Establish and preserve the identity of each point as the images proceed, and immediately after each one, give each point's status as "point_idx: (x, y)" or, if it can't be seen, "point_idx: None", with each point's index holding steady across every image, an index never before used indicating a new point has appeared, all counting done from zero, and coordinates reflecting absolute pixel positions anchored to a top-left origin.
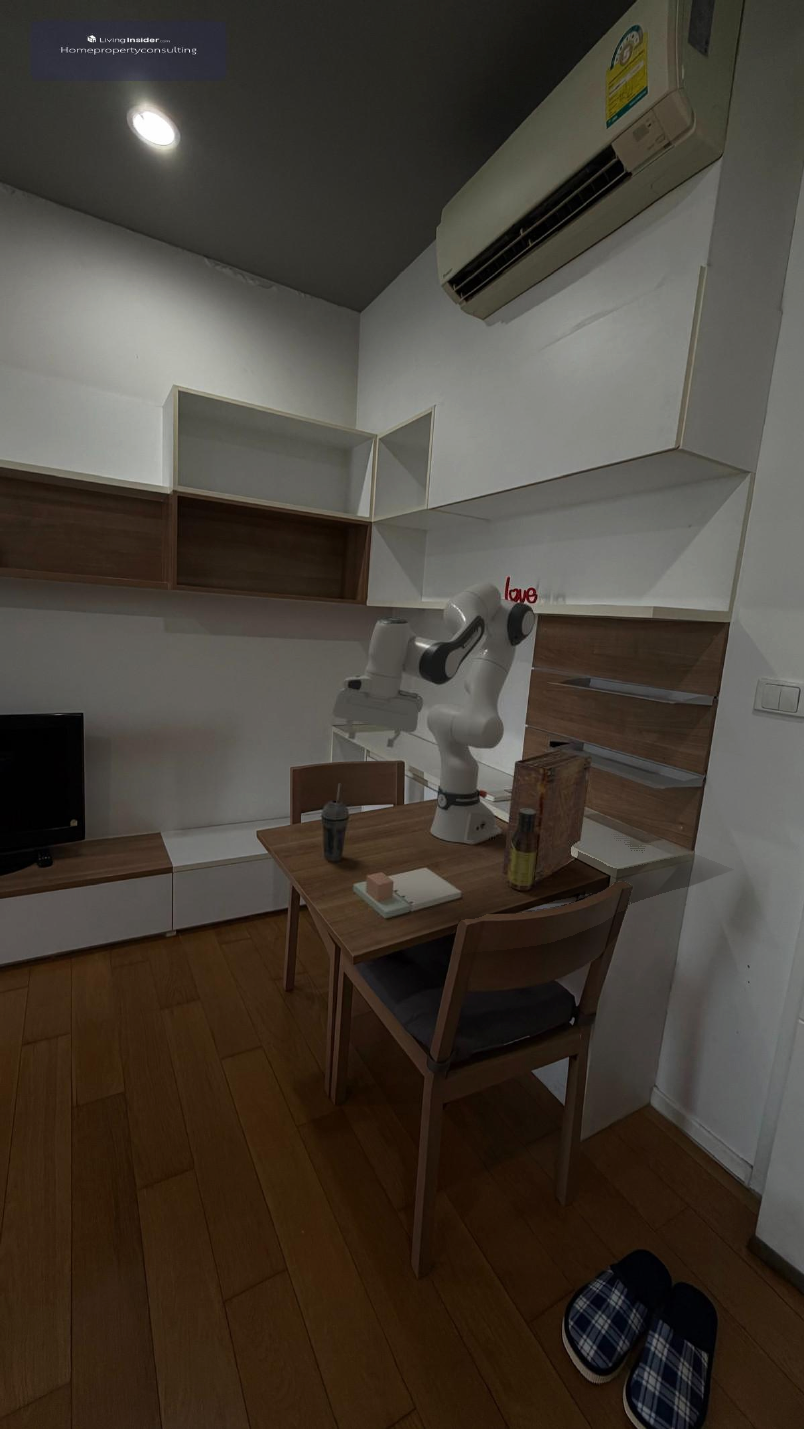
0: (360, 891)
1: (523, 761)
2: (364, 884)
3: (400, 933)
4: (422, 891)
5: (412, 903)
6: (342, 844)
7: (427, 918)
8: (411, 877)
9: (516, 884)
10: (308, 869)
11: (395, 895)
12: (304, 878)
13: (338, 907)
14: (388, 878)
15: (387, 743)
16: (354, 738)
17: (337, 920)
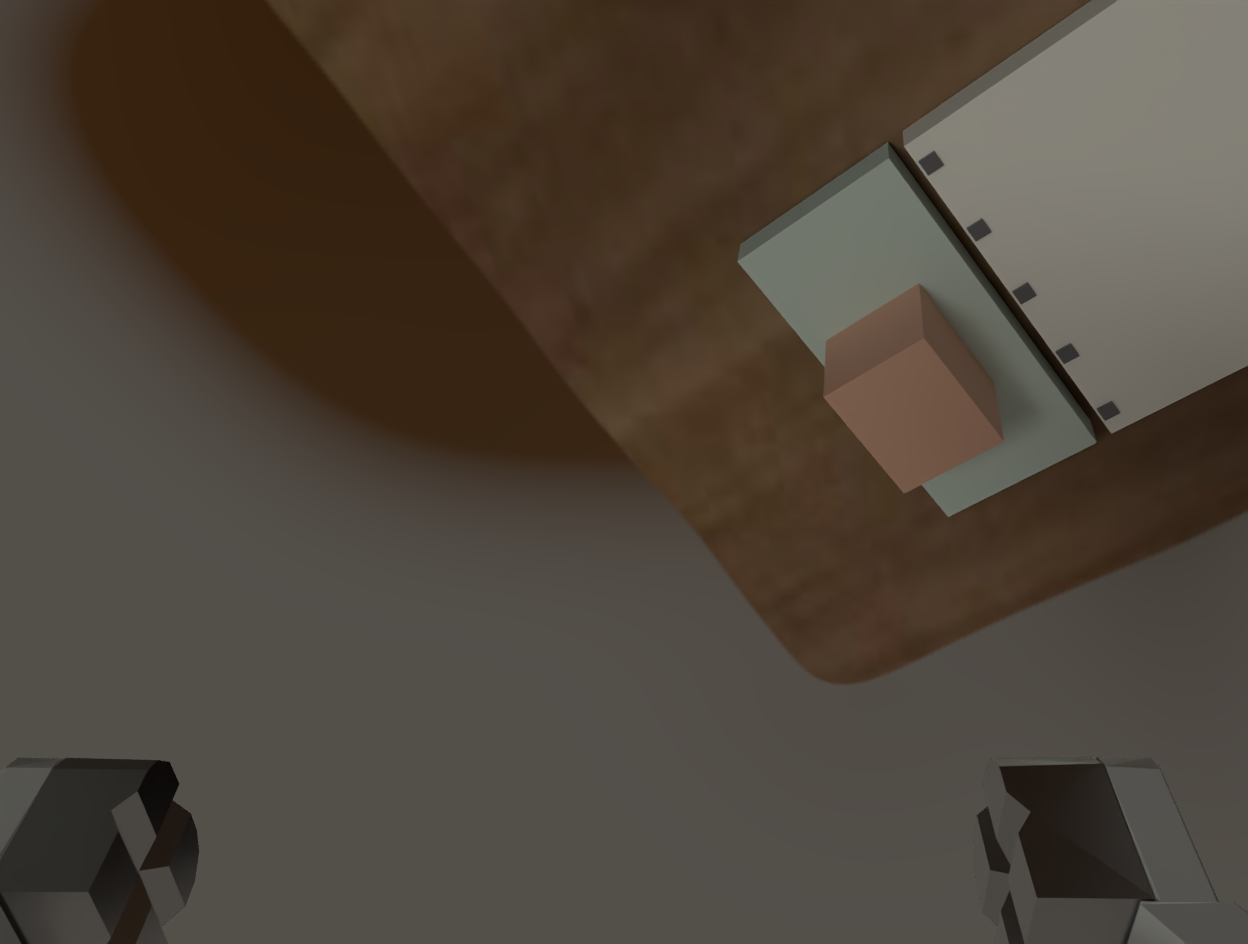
0: (792, 323)
1: None
2: (809, 252)
3: (1021, 587)
4: (1212, 270)
5: (1116, 416)
6: None
7: (1188, 462)
8: (1163, 77)
9: None
10: (382, 5)
11: (1015, 351)
12: (408, 143)
13: (692, 423)
14: (970, 413)
15: (992, 874)
16: (172, 798)
17: (710, 524)
